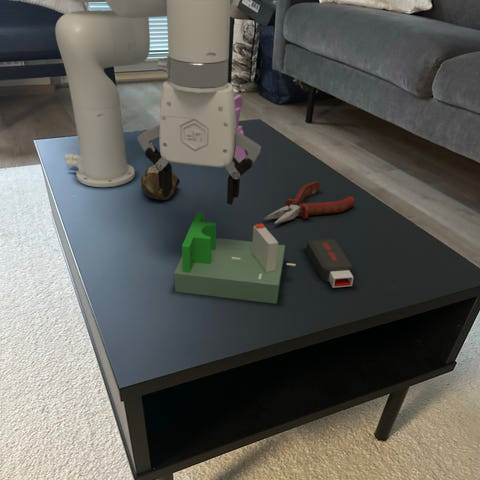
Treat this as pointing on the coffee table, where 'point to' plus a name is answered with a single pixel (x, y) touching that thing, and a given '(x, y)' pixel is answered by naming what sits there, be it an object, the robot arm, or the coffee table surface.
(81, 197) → the coffee table surface
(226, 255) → the green rectangular block
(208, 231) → the pipe clamp
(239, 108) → the toy chair
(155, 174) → the brown rock
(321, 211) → the pliers
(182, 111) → the robot arm
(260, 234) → the square jaw plate
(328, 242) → the usb drive
